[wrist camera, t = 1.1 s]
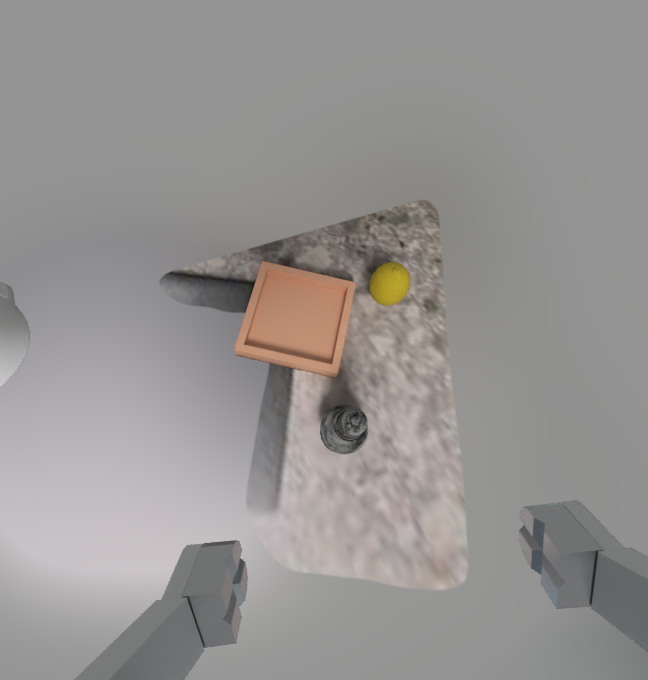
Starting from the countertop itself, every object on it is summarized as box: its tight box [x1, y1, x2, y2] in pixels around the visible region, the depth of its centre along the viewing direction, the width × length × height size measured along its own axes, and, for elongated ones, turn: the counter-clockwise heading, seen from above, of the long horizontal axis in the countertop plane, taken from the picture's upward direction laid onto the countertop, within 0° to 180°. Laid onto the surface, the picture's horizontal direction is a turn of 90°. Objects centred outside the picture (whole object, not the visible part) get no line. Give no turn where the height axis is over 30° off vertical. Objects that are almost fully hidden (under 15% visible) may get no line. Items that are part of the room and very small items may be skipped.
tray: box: [234, 261, 356, 378], centre depth 51 cm, size 14×14×2 cm
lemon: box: [369, 262, 410, 305], centre depth 51 cm, size 6×6×8 cm
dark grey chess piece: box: [320, 405, 368, 454], centre depth 41 cm, size 6×6×12 cm
